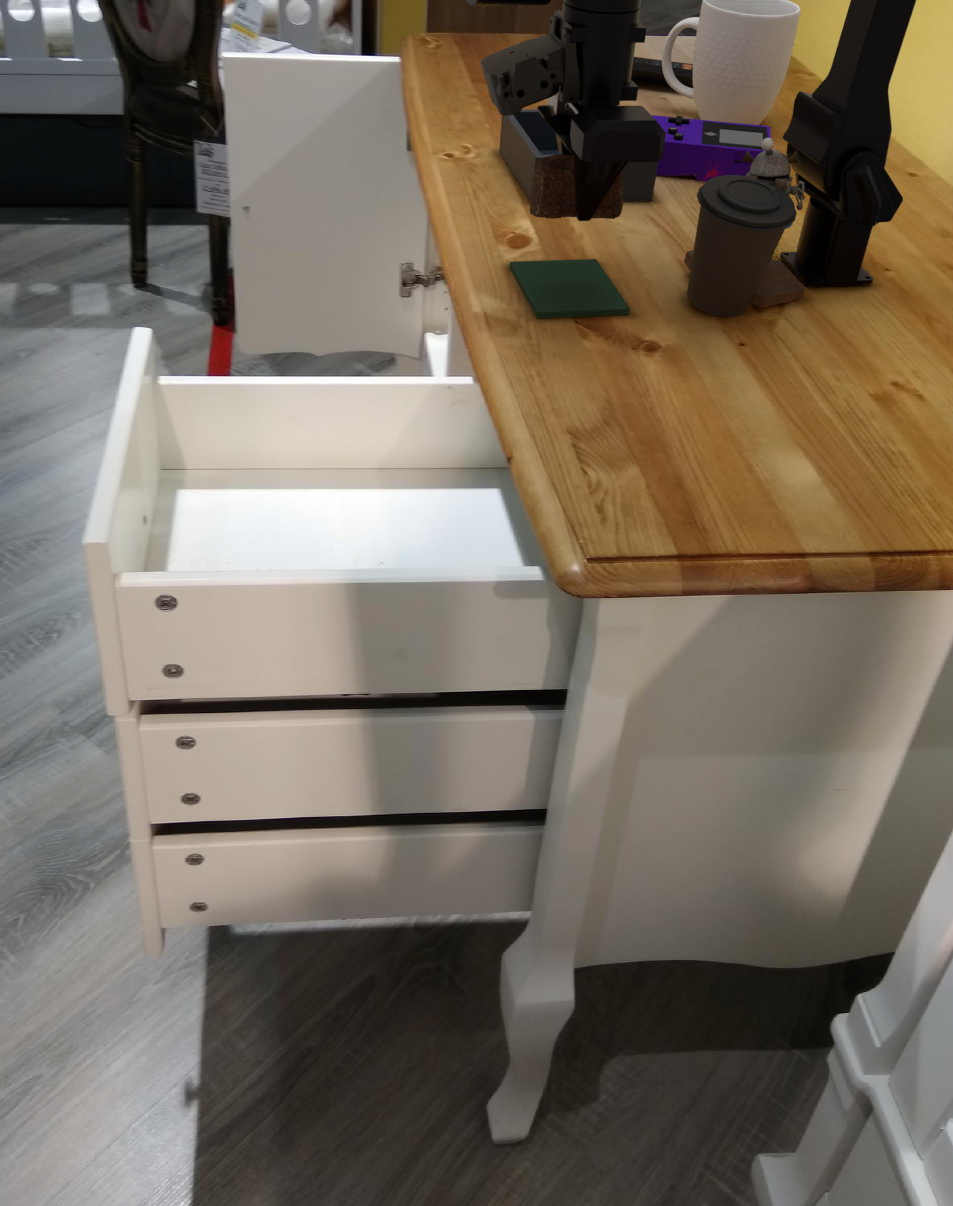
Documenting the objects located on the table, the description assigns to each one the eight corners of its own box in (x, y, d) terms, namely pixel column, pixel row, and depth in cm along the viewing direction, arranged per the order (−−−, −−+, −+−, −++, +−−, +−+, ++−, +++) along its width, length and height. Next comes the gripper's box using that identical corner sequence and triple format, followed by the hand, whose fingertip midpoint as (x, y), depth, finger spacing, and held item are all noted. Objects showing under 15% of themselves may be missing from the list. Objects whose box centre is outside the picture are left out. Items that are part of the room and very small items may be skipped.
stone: (616, 214, 98) (625, 153, 95) (625, 228, 96) (634, 166, 92) (527, 214, 97) (532, 153, 93) (533, 228, 94) (539, 166, 91)
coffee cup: (774, 293, 101) (812, 185, 94) (749, 338, 96) (786, 228, 89) (687, 263, 103) (718, 155, 96) (657, 305, 98) (687, 194, 91)
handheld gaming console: (633, 108, 128) (770, 121, 127) (627, 157, 132) (761, 170, 130) (626, 133, 121) (772, 148, 119) (620, 184, 124) (762, 198, 123)
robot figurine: (811, 283, 105) (862, 149, 98) (796, 318, 98) (850, 176, 91) (695, 246, 107) (736, 112, 100) (671, 278, 100) (714, 136, 93)
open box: (652, 201, 117) (659, 156, 115) (531, 203, 115) (535, 157, 112) (610, 151, 128) (615, 108, 125) (498, 152, 126) (502, 109, 123)
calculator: (698, 71, 155) (702, 47, 153) (690, 96, 146) (694, 71, 144) (628, 63, 156) (631, 38, 154) (616, 86, 147) (620, 61, 145)
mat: (629, 315, 97) (630, 308, 97) (536, 318, 95) (537, 312, 95) (595, 265, 104) (596, 258, 104) (509, 267, 103) (509, 261, 103)
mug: (638, 119, 138) (656, -2, 129) (670, 97, 145) (688, -19, 137) (760, 145, 133) (787, 21, 125) (786, 121, 141) (812, 2, 132)
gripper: (469, -27, 91) (459, 173, 101) (525, 38, 77) (508, 263, 87) (605, -25, 93) (582, 171, 103) (684, 39, 79) (649, 258, 89)
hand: (577, 212), depth 96 cm, fingers closed on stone, 3 cm apart
